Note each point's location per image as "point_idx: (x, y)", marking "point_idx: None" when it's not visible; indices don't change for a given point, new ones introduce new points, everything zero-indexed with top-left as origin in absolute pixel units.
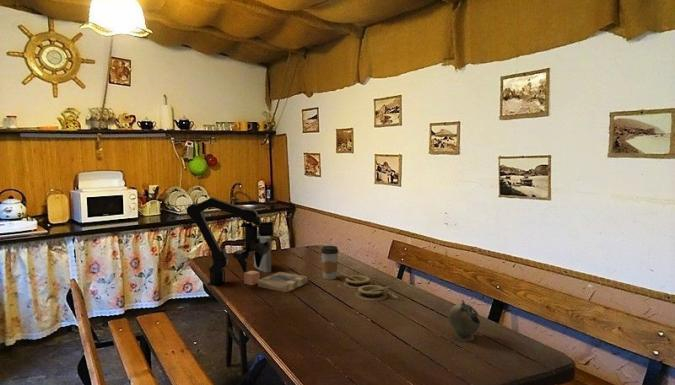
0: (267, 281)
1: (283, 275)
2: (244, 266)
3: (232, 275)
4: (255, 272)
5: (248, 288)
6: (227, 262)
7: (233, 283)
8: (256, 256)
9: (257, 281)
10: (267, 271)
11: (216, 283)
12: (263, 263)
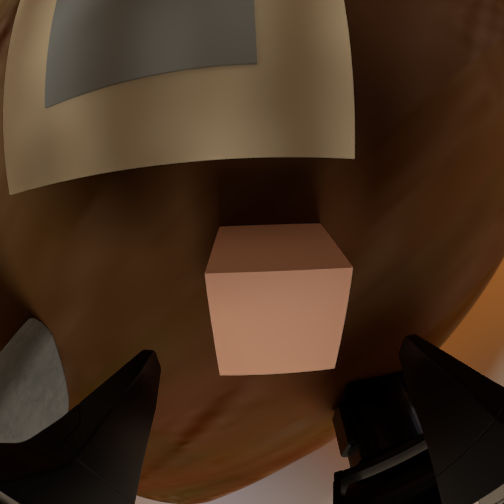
0: (337, 32)
1: (68, 48)
2: (467, 377)
3: (220, 429)
4: (252, 302)
5: (403, 194)
6: (388, 489)
7: (344, 355)
8: (120, 492)
9: (253, 230)
10: (44, 331)
11: (406, 388)
12: (36, 386)
